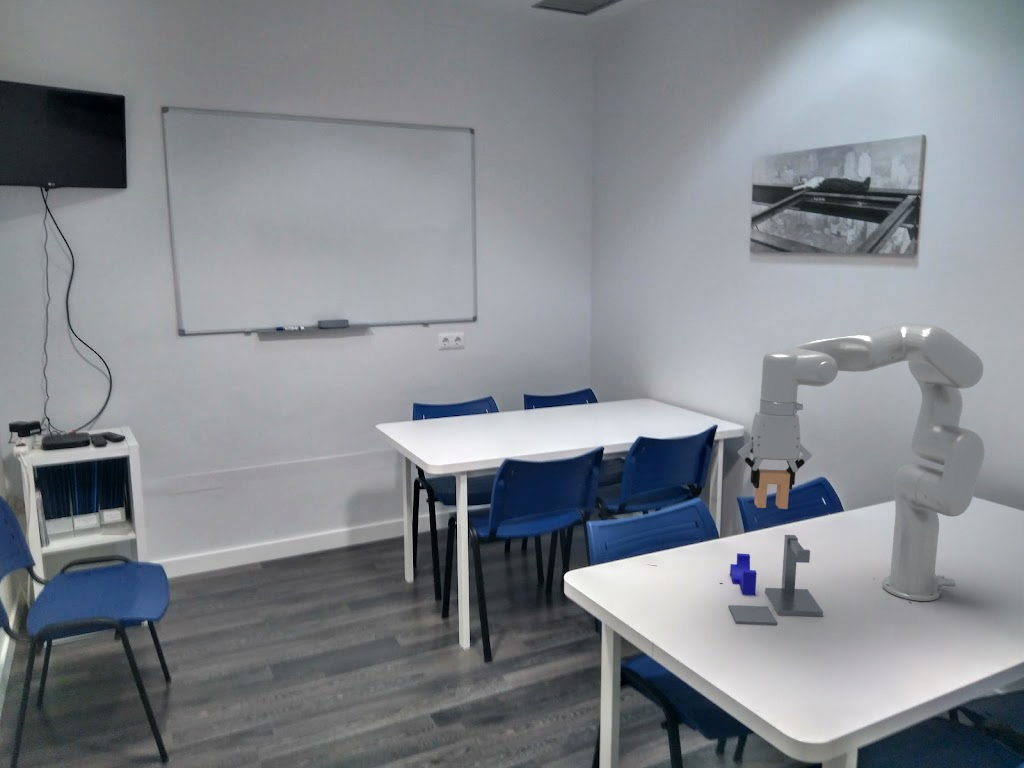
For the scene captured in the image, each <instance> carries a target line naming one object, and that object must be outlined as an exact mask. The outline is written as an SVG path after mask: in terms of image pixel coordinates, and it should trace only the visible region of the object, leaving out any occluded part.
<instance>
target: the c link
mask: <svg viewBox="0 0 1024 768" xmlns="http://www.w3.org/2000/svg"><path fill="white" fill-rule="evenodd" d="M759 471H760V480H759V488H755V487H754V490H755V492H754V505H755V506H756V508H758V509H760V508H762V509H766V508H767V498H768V497H767V496H768V495H767V494H768V486H769V485H776V496H775V505H776V507H777V508H778V509H781V510H782V509H783V510H788V508H789V507H788V506H789V493H790V489H789V483H790V474H789V473H788V472H787V471H786V469H761V468H759Z"/></svg>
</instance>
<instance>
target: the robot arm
mask: <svg viewBox="0 0 1024 768" xmlns="http://www.w3.org/2000/svg"><path fill="white" fill-rule="evenodd" d="M906 361H908V362H907V363H908V369H909V371H910V373H911V375H912V376H913V378H914V379H915V381H916V383H917V384H918V385H919V388H920V392H921V404H920V408H919V409H920V410H919V413H918V417H917V420H916V424H915V428H914V432H913V435H912V438H911V450H912V452H913V453H914V455H916V456H917V457H918V458H920V459H923V460H925V461H929V462H932V463H934V464H938V465H941V466H943V468H942V469H943V470H940V469H937V468H934V467H931V466H928V465H924V464H921V463H920V464H919V463H908V464H904V465H902V466H901V467H900V468H898V470H897V471H896V473H895V474H894V478H893V484H892V485H893V495H894V503H895V505H894V506H895V509H894V510H895V512H894V513H895V514H894V515H895V516H894V526H893V527H894V528H893V536H892V537H893V538H892V551H891V562H890V573H889V574H890V576H887V577H885V578H883V580H882V584H881V585H882V588H883V589H884V590H885V591H886V592H888V593H890V594H891V595H894V596H897V597H899V598H902V599H907V600H910V601H911V600H912V601H919V602H929V601H935V600H937V599H939V598H940V596H941V589H940V588H943V587H948V588H949V587H950V588H951V587H952V588H954V587H956V580H955V579H954V578H945V576H944V575H942V574H941V575H939V574H938V575H936V574H935V573H936V567H937V566H936V565H937V555H938V554H937V553H938V543H939V534H940V533H939V532H940V519H939V514H940V515H943V516H946V517H950V518H951V517H959V516H961V515H962V514H964V513H965V512H966V511H967V510H968V509H969V507H970V505H971V503H972V500H973V498H974V496H975V495H974V494H975V491H976V488H977V485H978V484H977V483H978V481H979V477H980V473H981V470H982V466H983V463H984V458H985V451H986V450H985V444H984V441H983V440H982V438H981V436H980V435H979V434H978V433H976V432H975V431H973V430H970V429H968V428H965V427H964V428H963V427H959V424H960V420H961V416H962V412H963V397H962V394H961V390H960V389H962V390H963V389H970V388H971V387H974V386H976V385H977V384H978V383H980V381H981V379H982V377H983V374H984V364H983V362H982V359H981V358H980V356H979V355H978V354H977V353H976V352H975V351H974V350H972V349H971V348H970V347H968V345H966V344H965V343H964V342H962V341H961V340H959V339H958V338H957V337H956V336H954V335H952V334H951V333H950V332H949V331H947V330H945V329H943V328H942V327H939V326H937V325H931V324H930V325H929V324H921V323H919V324H918V323H914V322H913V323H910V322H907V323H906V322H905V323H904V322H902V323H898V324H893V325H890V326H885V327H882V328H879V329H875V330H870V331H867V332H863V333H860V334H854V335H846V336H840V337H832V338H825V339H820V340H819V339H818V340H814V341H808V342H803V343H801V344H796V345H793V346H791V347H788V348H786V349H785V350H783V351H770V352H766V354H764V356H763V360H762V372H761V386H760V400H759V411H757V412H755V414H754V417H753V421H752V426H751V430H750V439H749V441H748V442H747V443H745V444H744V445H743V446H742V447H741V448H740V449H739V450H737V454H738V456H740V457H741V459H742V460H743V462H745V463H746V464H747V465H748V466H749V468H751V470H750V484H752V485H753V487H754V489H755V488H759V480H760V471H759V469H760V468H759V467H760V466H761V464H762V463H763V461H764V460H768V461H770V460H773V461H774V460H775V461H786V463H787V468H786V469H785V470H786V471H787V472H788V473H789V474H790V483H789V491H790V490H792V489H793V486H795V485H796V483H795V482H796V473H797V472H798V470H799V469H800V468H801V467H803V466H805V463H807V462H808V460H810V459H812V453H810V451H808V450H807V448H805V447H804V445H802V444H801V427H800V424H801V423H800V417H799V415H798V414H797V413H798V411H800V410H801V411H803V410H804V405H803V403H799V402H798V400H797V399H798V391H799V390H798V389H799V387H798V386H809V387H825V386H827V385H830V383H833V381H834V380H836V378H837V375H838V373H839V372H840V371H841V372H850V373H851V372H853V373H855V372H856V373H857V372H859V373H860V372H870V371H874V370H877V369H879V368H883V367H888V366H890V365H894V364H897V363H901V362H906ZM749 452H750V454H752V455H753V457H752V459H751V458H750V456H748V455H747V454H748V453H749ZM800 454H801V456H800Z"/></svg>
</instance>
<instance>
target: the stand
mask: <svg viewBox="0 0 1024 768" xmlns="http://www.w3.org/2000/svg"><path fill="white" fill-rule="evenodd" d="M783 544H784V545H783V556H782V557H783V558H782V573H781V574H782V576H781V588H780V587H765V588H764V593H765V595H766V596H767V598H768V600H769V602H770V604H771V605H772V608H773V609H774V611H775V612H776V614H777V615H778V616H794V617H795V616H796V617H817V618H818V617H821V618H823V617H824V611H823V609H822V608H821V606H820V605H819V604H818V602H817V601H816V600H815V598H814V596H813V595H812V593H810V591H809V589H807V588H796V574H797V563H801V564H802V563H805V564H807V563H808V564H809V563H810V561H811V560H810V559H811V550H810V549H804V547H803V546H802V545H801V543H800V542H799V538H798V537H797V535H795V534H785V535H784V542H783Z"/></svg>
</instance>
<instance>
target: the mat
mask: <svg viewBox="0 0 1024 768" xmlns="http://www.w3.org/2000/svg"><path fill="white" fill-rule="evenodd" d="M728 608H729V609H728V610H729V611H730V614H731V616H732V618H733V621H734V623H735V624H737V625H758V626H759V625H762V626H765V625H766V626H777V625H778V622H777V619H776V618H775V617H774V615H773V612H772V611H771V609H770V608H769V606H768V605H767V606H765V605H762V606H761V605H740V604H739V605H737V604H728Z"/></svg>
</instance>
